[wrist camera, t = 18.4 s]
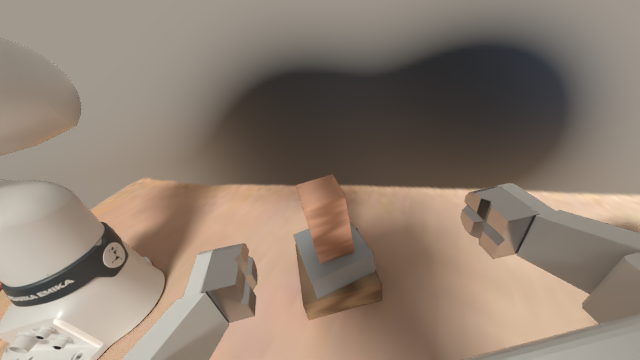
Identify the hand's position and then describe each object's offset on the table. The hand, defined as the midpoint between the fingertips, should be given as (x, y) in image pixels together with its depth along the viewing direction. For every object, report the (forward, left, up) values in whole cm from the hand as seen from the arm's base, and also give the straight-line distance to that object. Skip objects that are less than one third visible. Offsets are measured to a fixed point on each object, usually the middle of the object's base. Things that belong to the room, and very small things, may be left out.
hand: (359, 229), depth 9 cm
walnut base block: (-1, +18, -29) cm, 34 cm away
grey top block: (0, +18, -24) cm, 30 cm away
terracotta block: (0, +17, -20) cm, 27 cm away
